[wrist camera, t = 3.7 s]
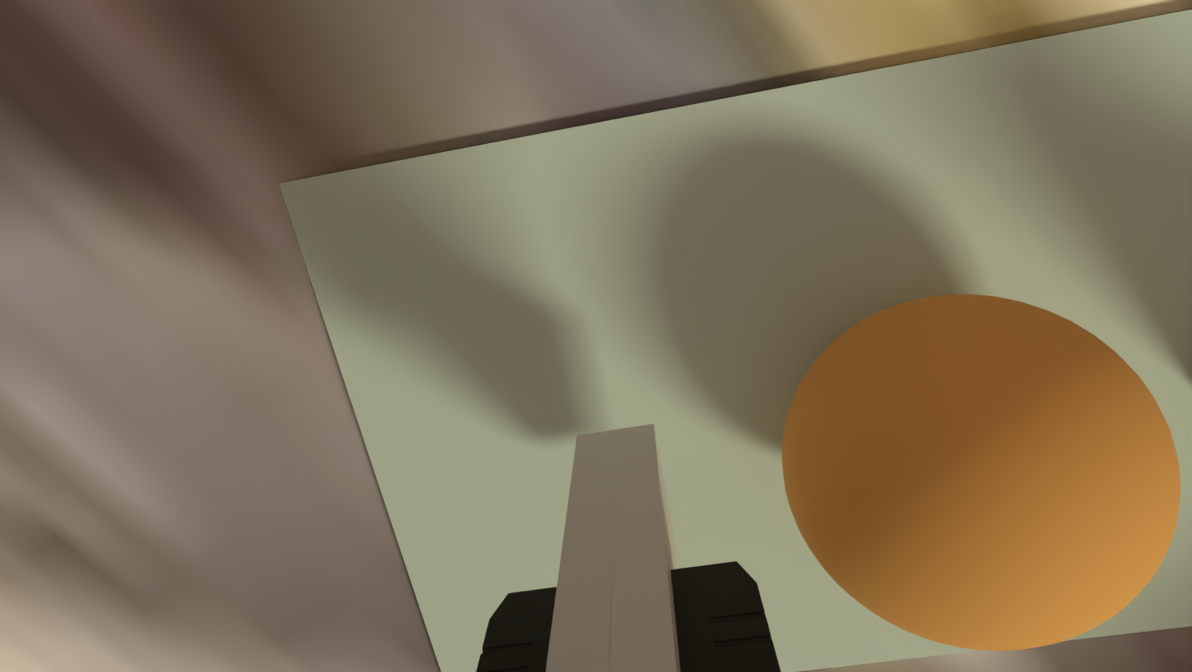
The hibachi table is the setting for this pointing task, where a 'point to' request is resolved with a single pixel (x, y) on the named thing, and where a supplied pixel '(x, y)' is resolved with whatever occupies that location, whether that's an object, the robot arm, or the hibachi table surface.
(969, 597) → the ball
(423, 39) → the hibachi table surface
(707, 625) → the robot arm
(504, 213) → the pale green board
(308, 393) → the hibachi table surface
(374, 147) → the hibachi table surface
